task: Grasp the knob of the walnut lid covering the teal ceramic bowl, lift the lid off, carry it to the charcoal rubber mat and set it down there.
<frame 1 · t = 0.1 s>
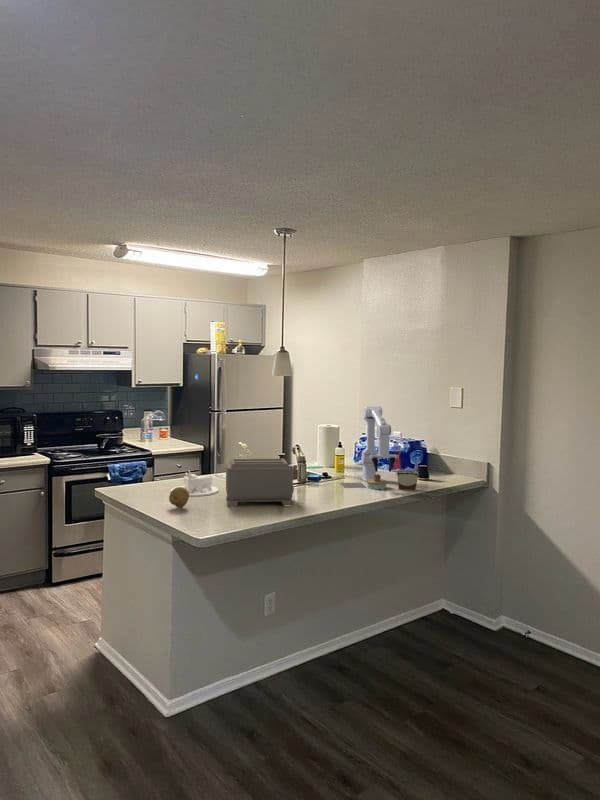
hand: (383, 471, 342), 10 cm above the countertop, tool pointing down, fingers open, 7 cm apart
natural sponge: (178, 508, 292), on the countertop
toaster: (261, 502, 308), on the countertop
food container: (406, 489, 346), on the countertop
dish: (194, 492, 330), on the countertop
lid: (376, 482, 347), point 3 cm above the countertop, touching bowl
bowl: (376, 487, 347), on the countertop
mat: (352, 485, 352), on the countertop
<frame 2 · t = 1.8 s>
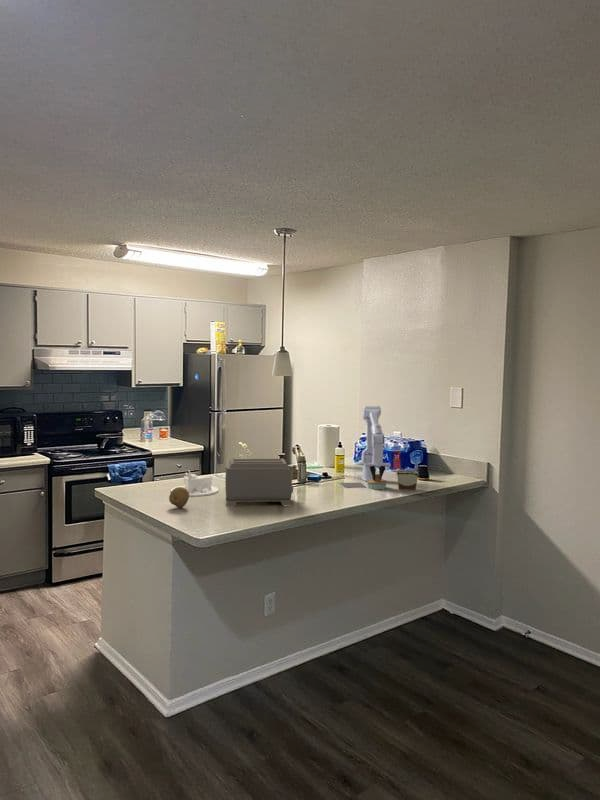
hand: (377, 479, 347), 4 cm above the countertop, tool pointing down, fingers closed on lid, 3 cm apart
lid: (376, 482, 347), point 3 cm above the countertop, touching bowl, gripper
everything else where it was.
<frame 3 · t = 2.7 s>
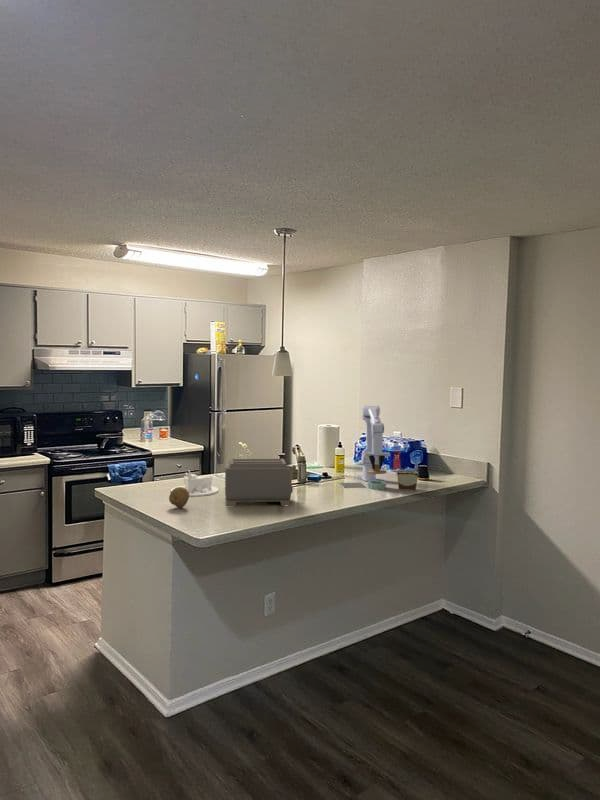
hand: (376, 469, 347), 10 cm above the countertop, tool pointing down, fingers closed on lid, 3 cm apart
lid: (376, 472, 347), point 9 cm above the countertop, touching gripper
everything else where it was.
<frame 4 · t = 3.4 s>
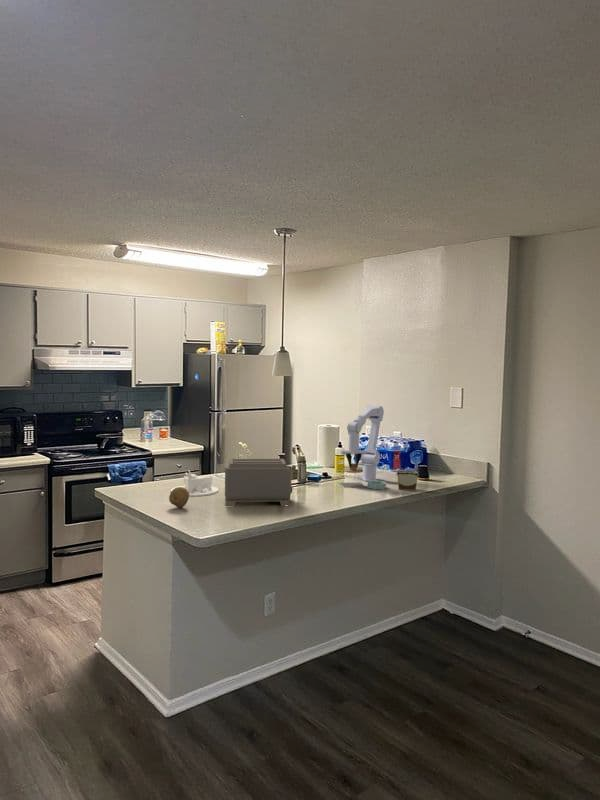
hand: (353, 467, 352), 10 cm above the countertop, tool pointing down, fingers closed on lid, 3 cm apart
lid: (353, 471, 352), point 8 cm above the countertop, touching gripper
everything else where it was.
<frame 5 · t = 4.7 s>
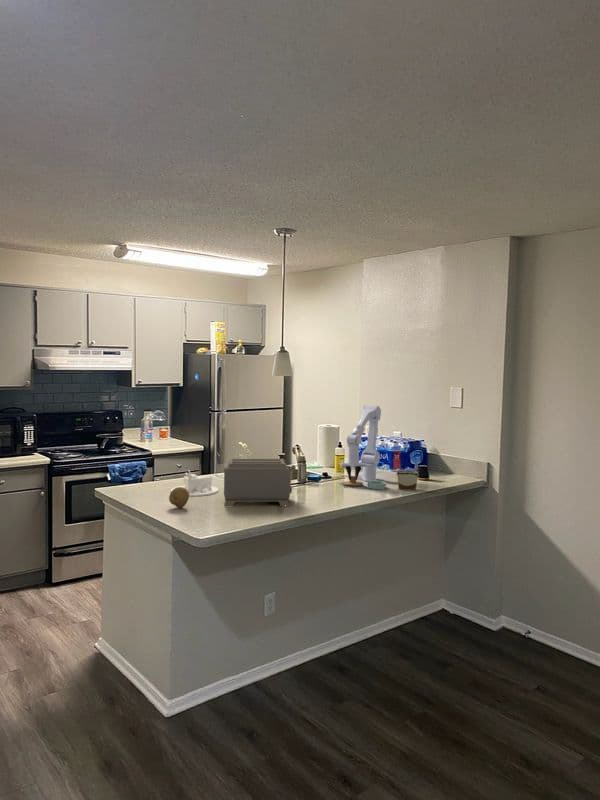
hand: (352, 479, 352), 3 cm above the countertop, tool pointing down, fingers closed on lid, 3 cm apart
lid: (352, 484, 352), point 1 cm above the countertop, touching gripper
when the fingers open (3 cm above the countertop, at t = 5.1 s): lid stays where it is, resting on mat.
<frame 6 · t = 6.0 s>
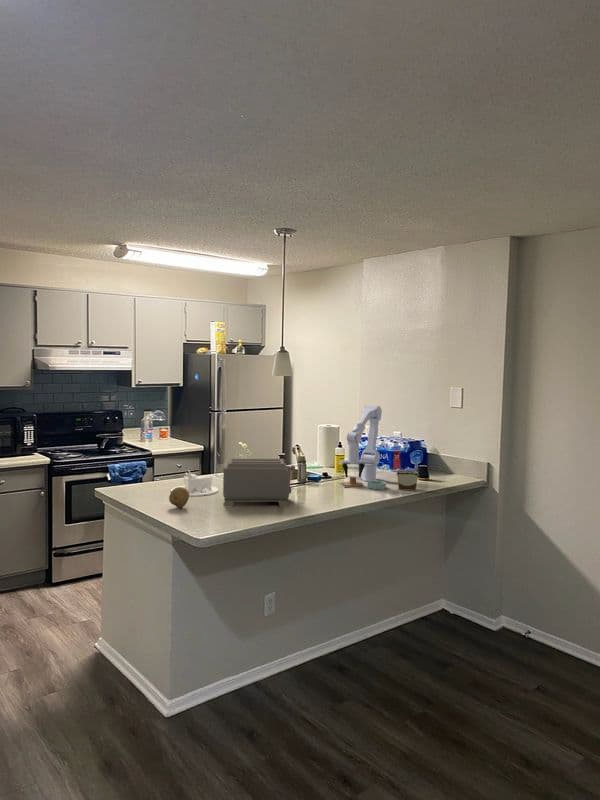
hand: (353, 477, 352), 5 cm above the countertop, tool pointing down, fingers open, 7 cm apart
lid: (352, 484, 352), resting on mat
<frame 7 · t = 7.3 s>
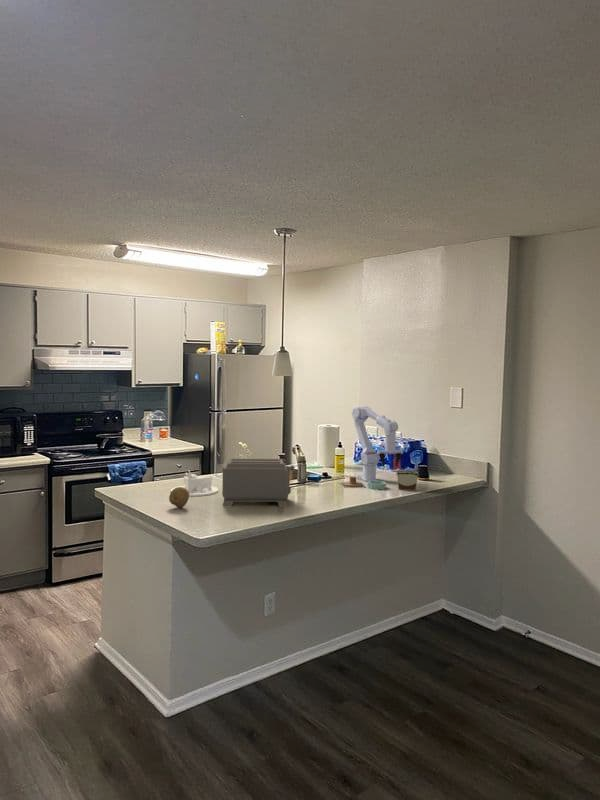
hand: (389, 466, 356), 10 cm above the countertop, tool pointing down, fingers open, 7 cm apart
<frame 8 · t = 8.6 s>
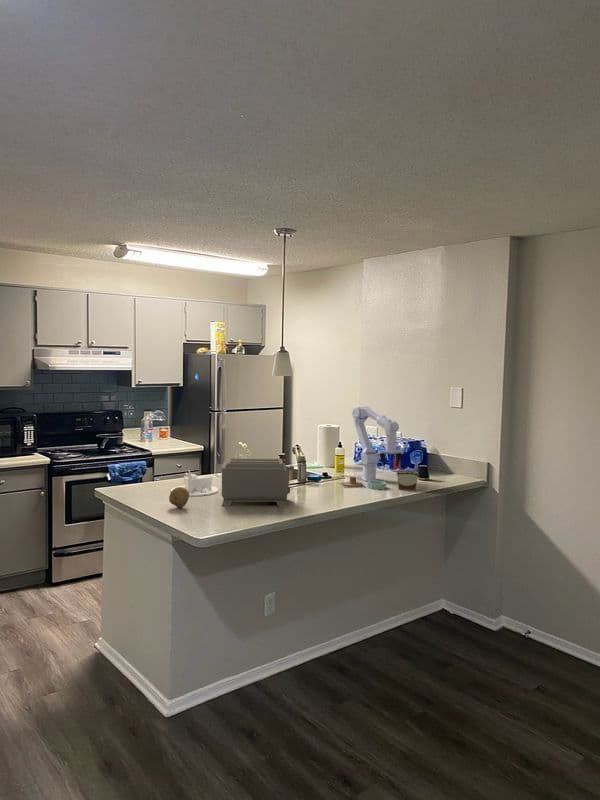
hand: (390, 466, 356), 10 cm above the countertop, tool pointing down, fingers open, 7 cm apart
at the end: lid inside the target area on the mat (0.1 cm from its centre), point 0.4 cm above the mat's base; lid touching mat; lid tilted 0° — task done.
